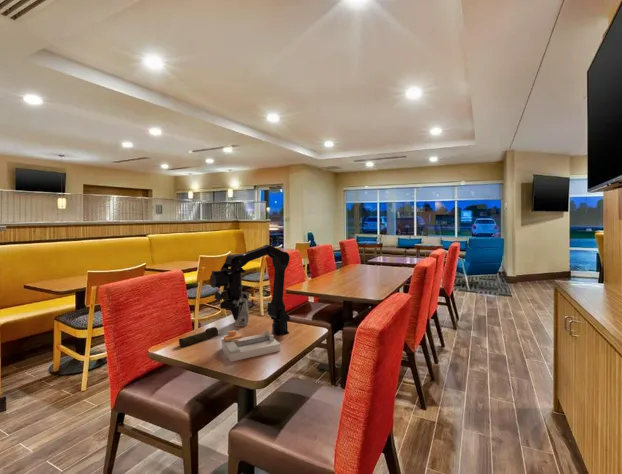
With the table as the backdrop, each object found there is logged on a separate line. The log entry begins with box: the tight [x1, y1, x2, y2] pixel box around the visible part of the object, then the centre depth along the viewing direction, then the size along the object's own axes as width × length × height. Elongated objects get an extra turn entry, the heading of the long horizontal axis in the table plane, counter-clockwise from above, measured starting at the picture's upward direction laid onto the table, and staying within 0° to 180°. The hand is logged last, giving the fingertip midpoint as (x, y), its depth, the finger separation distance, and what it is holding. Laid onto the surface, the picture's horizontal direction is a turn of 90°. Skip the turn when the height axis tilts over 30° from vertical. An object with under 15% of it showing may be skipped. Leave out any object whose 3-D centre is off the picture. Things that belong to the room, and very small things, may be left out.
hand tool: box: [178, 326, 219, 348], centre depth 152 cm, size 19×4×5 cm, turn 136°
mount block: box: [220, 330, 281, 362], centre depth 141 cm, size 21×15×6 cm
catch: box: [223, 329, 243, 341], centre depth 143 cm, size 7×4×3 cm, turn 118°
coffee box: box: [234, 291, 250, 327], centre depth 176 cm, size 9×6×16 cm
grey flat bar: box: [235, 336, 269, 347], centre depth 141 cm, size 15×4×1 cm, turn 118°
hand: (236, 319), depth 144 cm, fingers closed
